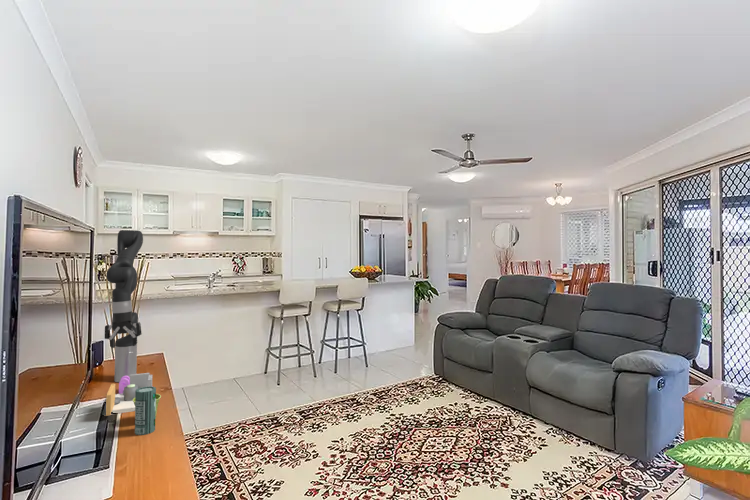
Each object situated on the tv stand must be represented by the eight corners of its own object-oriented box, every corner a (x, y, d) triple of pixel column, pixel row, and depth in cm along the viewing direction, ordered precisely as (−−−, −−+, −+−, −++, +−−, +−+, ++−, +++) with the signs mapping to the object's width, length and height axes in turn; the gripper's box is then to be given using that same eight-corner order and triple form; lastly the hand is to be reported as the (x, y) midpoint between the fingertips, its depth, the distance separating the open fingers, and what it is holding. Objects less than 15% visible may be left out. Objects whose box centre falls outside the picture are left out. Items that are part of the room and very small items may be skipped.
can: (158, 428, 146) (159, 387, 146) (145, 436, 140) (146, 392, 140) (144, 426, 148) (145, 385, 148) (130, 434, 142) (131, 391, 142)
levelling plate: (108, 397, 175) (109, 375, 175) (157, 391, 184) (157, 370, 184) (101, 415, 156) (101, 391, 156) (155, 408, 165) (155, 384, 165)
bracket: (118, 395, 179) (119, 379, 179) (120, 391, 184) (120, 376, 184) (152, 391, 184) (152, 376, 185) (152, 387, 189) (153, 372, 190)
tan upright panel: (106, 401, 166) (107, 382, 166) (120, 400, 168) (121, 381, 168) (100, 417, 151) (100, 395, 151) (115, 414, 154) (116, 394, 154)
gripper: (142, 308, 189) (143, 343, 188) (107, 311, 185) (109, 346, 185) (137, 310, 181) (138, 346, 181) (101, 313, 178) (102, 350, 178)
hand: (123, 346), depth 183 cm, fingers open, 8 cm apart
